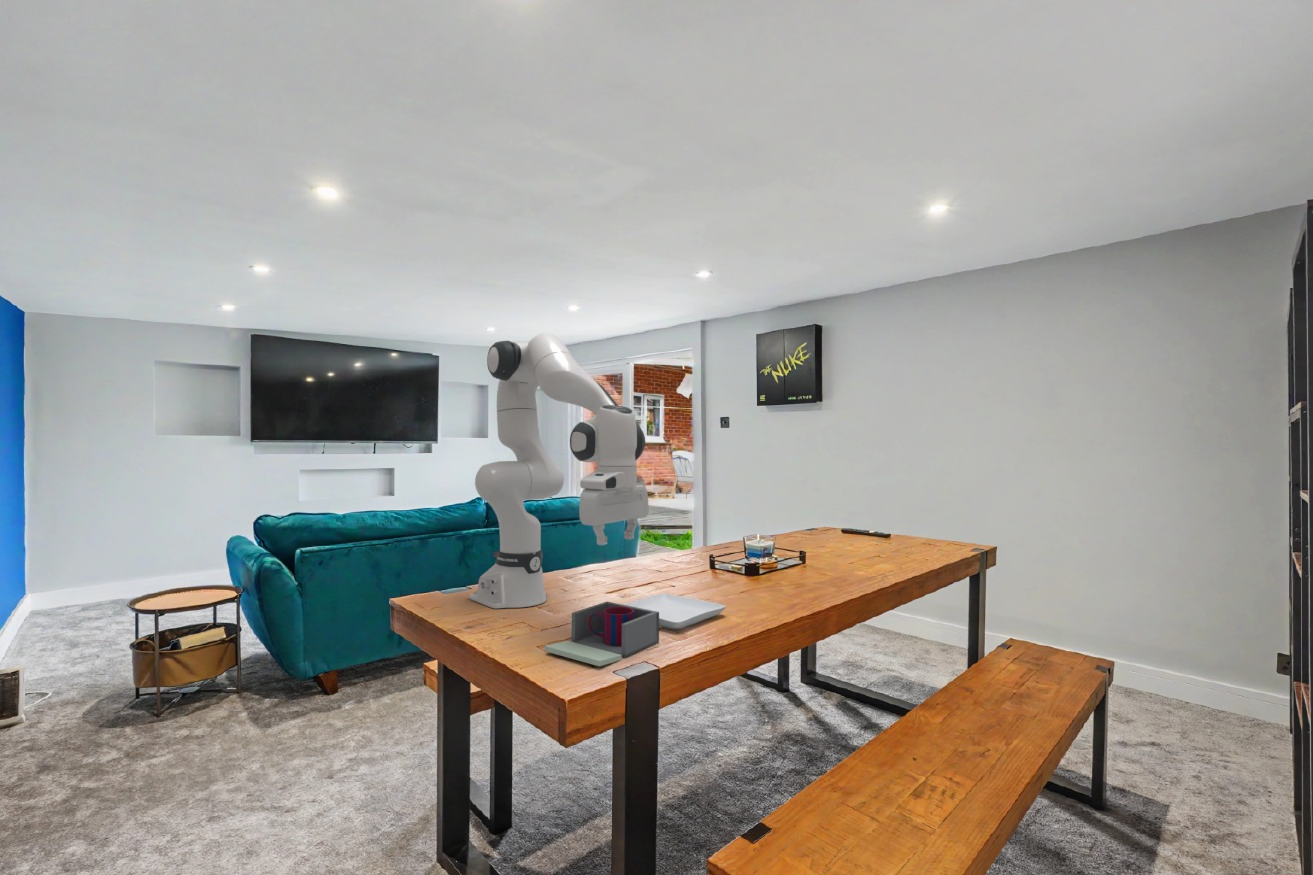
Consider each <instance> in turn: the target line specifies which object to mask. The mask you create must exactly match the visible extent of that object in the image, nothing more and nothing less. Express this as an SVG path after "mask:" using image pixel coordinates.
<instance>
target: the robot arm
mask: <svg viewBox="0 0 1313 875" xmlns="http://www.w3.org/2000/svg"><path fill="white" fill-rule="evenodd" d="M486 358H487V359H486V362H487V369H488V372H489V373H490V375H491V376H492V377H493V378H494V379H497V380H499V381H498V384H497V391H496V392H497V393H496V421H497V422H496V423H497V438H498V440H499V442H500V443H501V444H502V445H503V446H505V447H507V448H508V449H510V450H511V451H512V453H513V454H514V455H515V457H516V460H501V461H499V460H498V461H494V462H490V463H486V464H483V465H482V466H481V467H480V468H479V469H478V471H477V473H476V475H475V477H474V478H475V480H474V485H475V489H476V493H477V494H478V495H479V496H480V498H481V499H482V500H484V501H485V502H487V503H488V504H489V506H490V507H491V508H492V509H493V512H494V513H495V515H496V517H497V521H498V528H499V544H500V545H499V550H498V551H495V552H493V554H494V555H492V556H493V558H495V557H496V559H495V563H494V564H493V565H492V566H491V567H490V568H489V569H488V570H486V571H485V572H484V573H482V575H480V577H479V579H478V585H477V591H475V592H472V593H471V594H469V596H468V599H469V600H471V601H474V602H476V603H479V604H481V605H484V606H487V607H489V608H492V609H504V608H505V609H507V608H510V609H511V608H513V609H515V608H527V607H532V606H538V605H540V604H544V603H545V602H546V601H547V598H546V597H547V592H546V590H545V584H544V576H543V575H544V574H543V572H544V571H543V568H542V564H543V556H544V555H543V550H542V548H541V547H542V546H541V544H542V542H541V540H542V539H541V538H542V537H541V535H542V532H541V531H542V527H541V526H542V525H541V522H540V521H539V519H538V518H537V517H536V516H534V515H533V514H531V513H529V512H528V511H527V510H526V508H525V504H524V503H525V502H524V501H528V500H529V501H530V500H532V501H533V500H543V499H547V498H550V497H551V498H552V497H553V496H556V495H558V494H559V493H560V492H561V490H562V489H563V487H564V481H565V478H564V475H565V474H564V472H563V470H562V468H561V467H560V465H559V464H558V463H556V462H555V461H554V460H553V459H552V458H551V457H550V456H549V455H548V453H547V451H546V450H545V448H544V446H543V444H542V440H541V437H540V430H539V423H538V422H539V421H538V407H537V399H536V392H537V389H538V388H540V390H541V391H542V392H543V393H544V394H545V395H546V396H548V397H549V399H553V400H555V401H558V402H562V403H566V404H570V405H575V406H578V407H581V408H582V409H583V408H584V409H586V410H587V411H590V412H591V413H592V414H594V416H592V417H590V418H589V419H586V420H585V421H580V422H578V423H577V424H576V425H575V426H574V427H573V429H572V431H571V433H570V437H569V448H570V450H571V453H572V455H573V456H574V458H576V460H578V461H580V462H584V463H596V470H594V471H592V472H591V473H589V474H588V475H585V476H584V477H581V479H580V481H579V484H580V485H579V486H580V488H581V489H582V491H581V493H580V496H579V506H578V507H579V508H578V510H579V512H578V513H579V521H580V522H581V524H582V525H584V526H592V530H593V532H594V534H595V537H596V544H597V545H598V546H605V545H607V544H608V535H607V536H606V535H605V532H604V530H605V528H606V526H605V524H613V523H617V522H622V521H626V523H627V525H626V526H627V527H626V530H625V531H623V538H624V539H625V540H633V539H634V538H635V530H636V528H637V525H638V522H639V519H642V518H646V517H648V514H649V511H650V510H649V506H650V505H649V494H648V489H647V487H646V482H645V481H644V479H643V478H642V477H641V476H639V477H637V476H638V475H637V467H638V465H637V461H638V460H639V458H640V457H641V456H642V454H643V453H644V450H645V447H646V437H645V434H644V431H643V429H642V428H641V426H640V425H639V424H638V423H637V421H636V415H635V413H634V411H633V410H632V409H631V408H629V407H627V406H622V405H620V406H619V404H618V403H617V402H616V401H615V399H614V398H613V397H612V396H611V395H610V393H609V392H608V391H607V389H605V387H604V386H603V385H601V383H599V382H598V381H597V380H596V379H594V378H593V377H592V376H591V375H589V374H588V373H587V372H586V371H585V370H584V369H583V368H582V367H581V366H580V365H579V363H578V362H577V361H576V360H575V358H574V356H573V355H572V353H571V351H570V350H569V349H568V347H567V346H566V345H565V344H564V343H563V342H562V340H561V339H559V338H558V337H557V336H556V335H554V334H552V333H547V332H546V333H544V332H543V333H539V334H537V335H535V336H534V337H533V338H531V339H530V341H511V340H500V341H496V342H495V343H493V344H492V345H491V346H490V347H489V350H488V353H487V357H486Z"/></svg>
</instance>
